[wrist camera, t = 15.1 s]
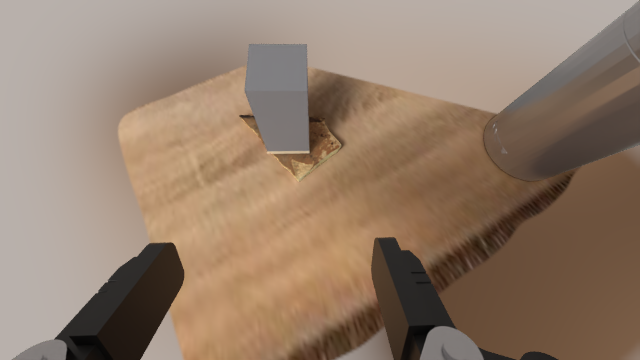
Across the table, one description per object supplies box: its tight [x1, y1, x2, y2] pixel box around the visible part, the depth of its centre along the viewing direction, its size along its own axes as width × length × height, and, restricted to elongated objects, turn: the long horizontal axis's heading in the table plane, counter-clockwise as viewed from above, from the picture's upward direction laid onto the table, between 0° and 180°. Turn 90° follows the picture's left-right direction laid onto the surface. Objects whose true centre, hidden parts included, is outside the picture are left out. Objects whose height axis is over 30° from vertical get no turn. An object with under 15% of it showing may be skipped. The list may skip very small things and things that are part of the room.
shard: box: [239, 115, 341, 182], centre depth 29 cm, size 11×8×2 cm
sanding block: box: [245, 44, 309, 154], centre depth 23 cm, size 5×5×10 cm
